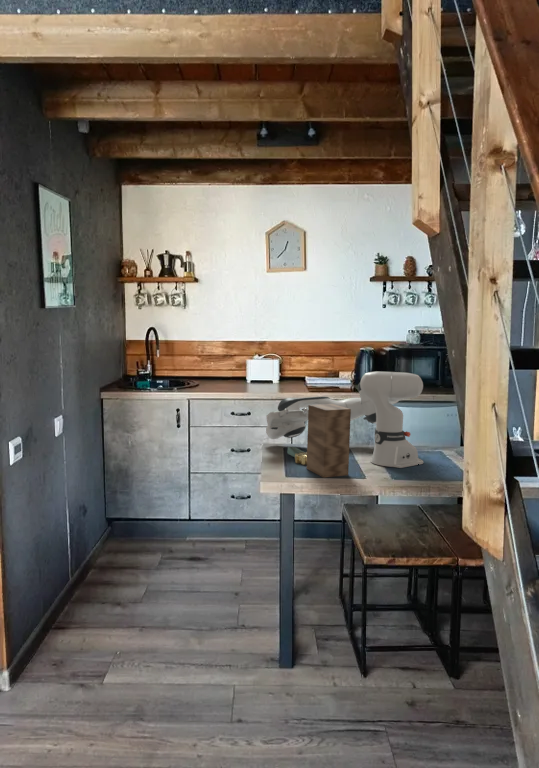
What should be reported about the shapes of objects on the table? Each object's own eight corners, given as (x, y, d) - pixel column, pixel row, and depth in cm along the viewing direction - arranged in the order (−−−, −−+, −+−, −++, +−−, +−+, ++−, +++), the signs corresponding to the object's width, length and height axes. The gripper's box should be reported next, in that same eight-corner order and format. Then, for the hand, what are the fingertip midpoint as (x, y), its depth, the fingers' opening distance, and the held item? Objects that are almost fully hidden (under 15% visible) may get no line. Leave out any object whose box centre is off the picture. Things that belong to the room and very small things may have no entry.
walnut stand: (330, 466, 233) (332, 403, 230) (348, 475, 220) (350, 409, 218) (306, 468, 229) (308, 404, 226) (323, 477, 216) (325, 410, 213)
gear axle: (300, 452, 257) (300, 446, 256) (323, 463, 237) (324, 456, 237) (279, 454, 252) (280, 447, 252) (301, 465, 233) (301, 458, 233)
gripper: (306, 426, 263) (319, 415, 251) (265, 428, 254) (277, 418, 243) (303, 413, 265) (316, 402, 253) (263, 415, 257) (274, 404, 245)
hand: (296, 410), depth 248 cm, fingers open, 8 cm apart
